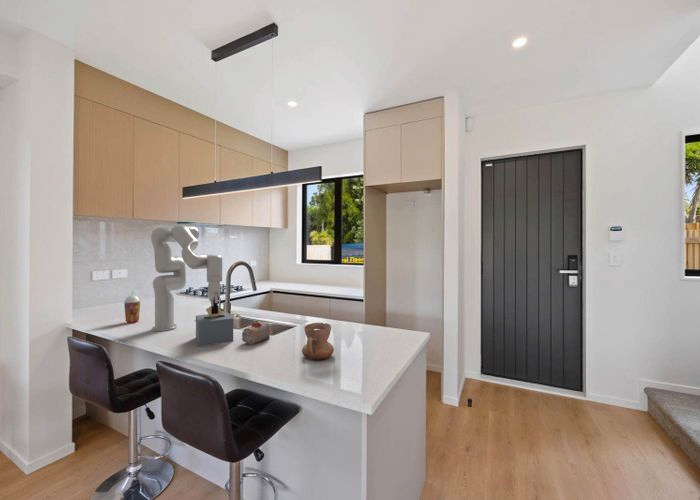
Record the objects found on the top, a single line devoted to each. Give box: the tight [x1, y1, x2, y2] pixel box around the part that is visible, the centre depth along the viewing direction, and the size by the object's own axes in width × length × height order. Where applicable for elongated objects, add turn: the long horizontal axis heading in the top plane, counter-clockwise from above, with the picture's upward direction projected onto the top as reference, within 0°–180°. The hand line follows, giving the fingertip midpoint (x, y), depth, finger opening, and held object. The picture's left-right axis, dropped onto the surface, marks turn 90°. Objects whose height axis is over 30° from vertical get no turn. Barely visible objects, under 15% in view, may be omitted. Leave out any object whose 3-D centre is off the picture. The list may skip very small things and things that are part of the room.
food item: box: [241, 321, 271, 346], centre depth 157 cm, size 14×8×10 cm, turn 153°
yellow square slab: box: [205, 305, 223, 318], centre depth 158 cm, size 2×6×6 cm
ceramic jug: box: [301, 322, 335, 361], centre depth 136 cm, size 18×14×14 cm
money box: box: [195, 312, 234, 347], centre depth 159 cm, size 16×16×12 cm
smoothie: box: [123, 290, 141, 324], centre depth 190 cm, size 8×8×20 cm
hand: (214, 313), depth 158 cm, fingers closed on yellow square slab, 1 cm apart
